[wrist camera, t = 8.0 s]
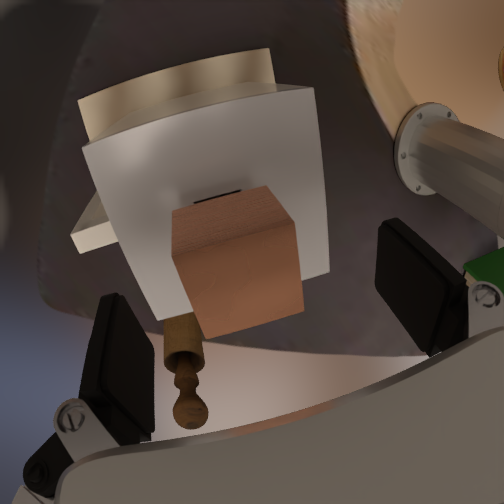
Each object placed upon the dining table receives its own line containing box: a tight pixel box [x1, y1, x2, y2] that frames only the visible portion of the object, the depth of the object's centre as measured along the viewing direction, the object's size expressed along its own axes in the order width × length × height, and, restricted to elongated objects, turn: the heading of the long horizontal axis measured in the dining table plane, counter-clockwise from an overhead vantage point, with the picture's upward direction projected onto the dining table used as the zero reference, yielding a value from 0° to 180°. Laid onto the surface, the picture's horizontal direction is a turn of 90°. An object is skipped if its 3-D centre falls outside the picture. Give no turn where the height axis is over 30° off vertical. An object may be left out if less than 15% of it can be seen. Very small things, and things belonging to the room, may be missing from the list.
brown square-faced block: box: [171, 185, 304, 339], centre depth 18 cm, size 8×8×19 cm
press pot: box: [71, 82, 329, 320], centre depth 21 cm, size 15×11×15 cm
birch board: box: [78, 48, 275, 141], centre depth 28 cm, size 18×16×1 cm
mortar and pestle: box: [164, 311, 208, 429], centre depth 29 cm, size 7×6×18 cm
